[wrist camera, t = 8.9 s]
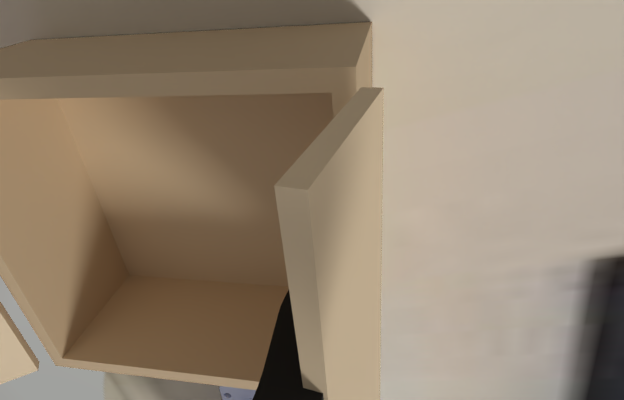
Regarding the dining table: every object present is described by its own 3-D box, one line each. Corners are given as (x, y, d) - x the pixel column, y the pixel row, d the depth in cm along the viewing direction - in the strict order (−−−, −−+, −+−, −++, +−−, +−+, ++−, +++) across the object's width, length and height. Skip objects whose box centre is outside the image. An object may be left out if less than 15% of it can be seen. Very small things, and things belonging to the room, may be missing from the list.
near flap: (366, 413, 16) (379, 417, 16) (327, 554, 12) (343, 562, 12) (361, 87, 9) (383, 87, 9) (274, 186, 6) (308, 190, 6)
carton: (372, 294, 21) (363, 403, 16) (127, 276, 24) (55, 365, 19) (371, 22, 15) (355, 66, 10) (31, 39, 17) (-120, 82, 12)
